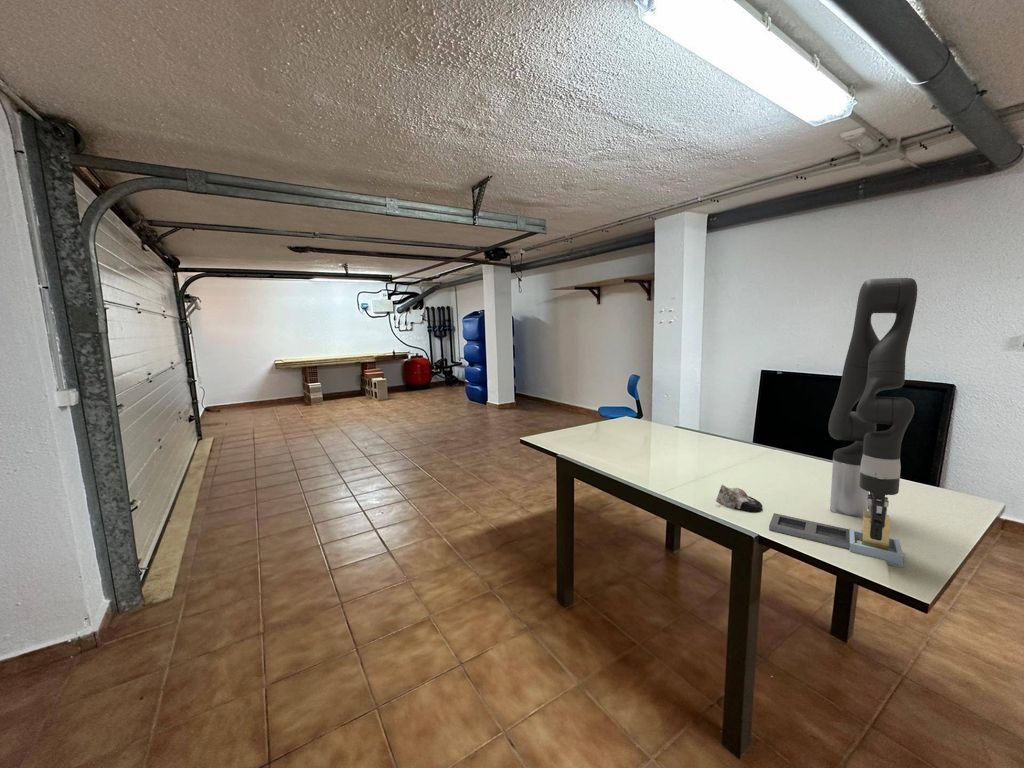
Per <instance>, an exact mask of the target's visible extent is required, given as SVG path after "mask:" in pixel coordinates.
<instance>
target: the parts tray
mask: <svg viewBox="0 0 1024 768" xmlns="http://www.w3.org/2000/svg"><path fill="white" fill-rule="evenodd" d="M849 536H850V547H849V549H848V550H849V552H853V553H856V554H860V555H863V556H869V557H872V558H877V559H880V560H885V561H886V564H887V565H888V566H889V565H890V566H894V567H898V568H903V563H904V554H903V550H902V545H901V542H900V538H899V539H898V538H896V537H895V538H894V537H889V550H888V551H887V550H883V549H879V548H874V547H870V546H866V545H862V543H861V544H860V543H857V542H856V540H860V541H862V531H861V530H858V529H857V530H856V529H851V528H849Z"/></svg>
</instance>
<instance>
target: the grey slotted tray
mask: <svg viewBox="0 0 1024 768" xmlns="http://www.w3.org/2000/svg"><path fill="white" fill-rule="evenodd" d="M768 526H769V527H768V530H769V531H770V532H776V533H780V534H784V535H788V536H792V537H795V538H796V537H797V538H799V539H800V538H801V539H804V540H805V539H806V540H809V541H813V542H816V543H821V544H826V545H829V546H833V547H837V548H840V549H841V548H842V549H847V550H849V547H850V536H849V529H850V528H849V529H848V528H845V527H841V526H835V525H831V524H826V523H823V522H818V521H813V520H808V519H803V518H799V517H794V516H789V515H785V514H784V515H783V514H780V513H776V512H774V513H773V514H772V517H771V520H770V523H769V525H768Z"/></svg>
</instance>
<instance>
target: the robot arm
mask: <svg viewBox="0 0 1024 768" xmlns="http://www.w3.org/2000/svg"><path fill="white" fill-rule="evenodd" d="M917 298H918V284H917V282H916V280H915V279H914V278H912V277H892V278H891V277H889V278H888V277H887V278H886V277H885V278H869V279H866V280H865V281H863V283H862V284H861V286H860V289H859V293H858V299H857V302H856V304H857V305H856V310H855V317H854V323H853V330H852V334H851V339H850V342H849V346H848V349H847V352H846V356H845V361H844V365H843V369H842V370H843V371H842V373H841V380H840V385H839V389H838V392H837V393H838V394H837V397H836V399H835V402H834V403H833V404H834V405H833V407H832V410H831V413H830V415H829V420H828V429H827V430H828V433H829V435H830V437H831V438H833V439H834V440H837V441H850V442H851V441H852V442H853V441H854V442H853V443H851V444H850V445H848V446H845V447H840V448H837V449H835V450H834V451H833V454H832V469H831V470H832V472H831V485H830V486H831V487H830V488H831V489H830V500H829V501H830V503H829V511H831V512H832V513H833V514H838V515H844V516H849V517H854V518H858V519H863V510H864V511H868V514H869V515H870V516H871V521H870V524H871V529H870V538H871V539H875V540H879V541H880V540H882V529H883V528H884V526H885V518H886V517H887V515H888V508H889V505H890V504H889V502H890V501H889V498H888V497H887V496H896V495H897V494H898V493H900V479H901V469H902V468H901V467H902V466H901V449H902V442H903V439H904V435H905V433H906V432H907V428H908V427H909V424H910V423H911V421H912V418H913V417H914V414H915V405H914V404H913V402H912V401H911V400H910V399H908V398H906V397H898V396H881V395H880V396H879V395H878V396H877V394H878V393H879V392H883V391H888V390H897V389H900V388H902V387H903V386H904V385H905V380H906V379H905V378H906V377H905V376H906V357H907V356H906V355H907V347H908V343H909V337H910V334H911V330H912V329H911V328H912V326H913V320H914V314H915V311H916V305H917ZM873 314H895V319H894V322H893V325H892V326H891V328H890V329H889V330H888V332H887V333H886V334H885V335H884V336H883V337H882V338H881V339H879V337H878V336H877V334H876V332H875V330H874V327H873V325H872V315H873ZM857 403H858V404H857ZM856 404H857V406H856V409H855V411H853V408H854V406H855V405H856ZM878 424H879V425H889V426H890V425H891V427H890V428H888V429H887V430H880V431H879V430H878V431H877V425H878ZM874 519H881V522H878V521H874Z"/></svg>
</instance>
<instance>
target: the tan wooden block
mask: <svg viewBox="0 0 1024 768" xmlns="http://www.w3.org/2000/svg"><path fill="white" fill-rule="evenodd" d="M870 521H871V516H870V515H869V514H868V511H864V510H863V518H862V523H861V524H862V527H861V530H862V540H861V545H866V546H870V547H874V548H879V549H883V550H887V551H888V550H889V537H890V536H891V535H890V534H891V524H892V523H891V518H890V515H889V514H887V517H886V518H885V526H884V528H883V529H882V540H880V541H879V540H875V539H871V538H870V529H871V524H870ZM874 521H878V522H881V519H874ZM890 538H891V537H890Z"/></svg>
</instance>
